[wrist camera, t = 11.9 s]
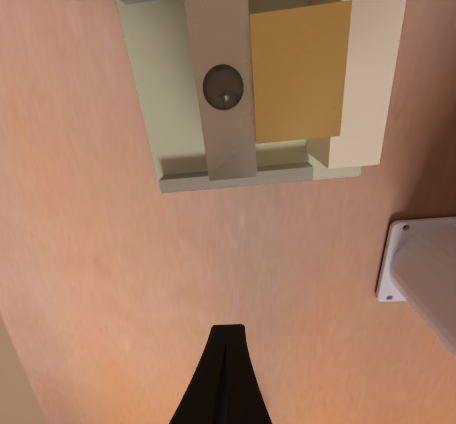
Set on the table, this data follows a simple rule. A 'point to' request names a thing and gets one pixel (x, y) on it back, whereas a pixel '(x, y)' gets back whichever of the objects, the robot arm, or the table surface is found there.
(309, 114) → the block
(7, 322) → the table surface
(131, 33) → the vise
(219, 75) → the block
